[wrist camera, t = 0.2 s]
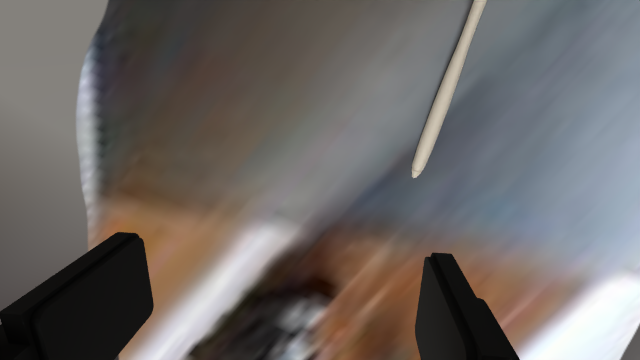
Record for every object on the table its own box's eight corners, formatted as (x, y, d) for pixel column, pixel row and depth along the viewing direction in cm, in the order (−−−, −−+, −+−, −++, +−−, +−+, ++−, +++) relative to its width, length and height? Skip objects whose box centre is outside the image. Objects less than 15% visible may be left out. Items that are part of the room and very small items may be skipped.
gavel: (447, 177, 44) (575, -125, 31) (461, 197, 38) (623, -162, 25) (372, 158, 44) (469, -151, 31) (375, 175, 38) (494, -193, 26)
